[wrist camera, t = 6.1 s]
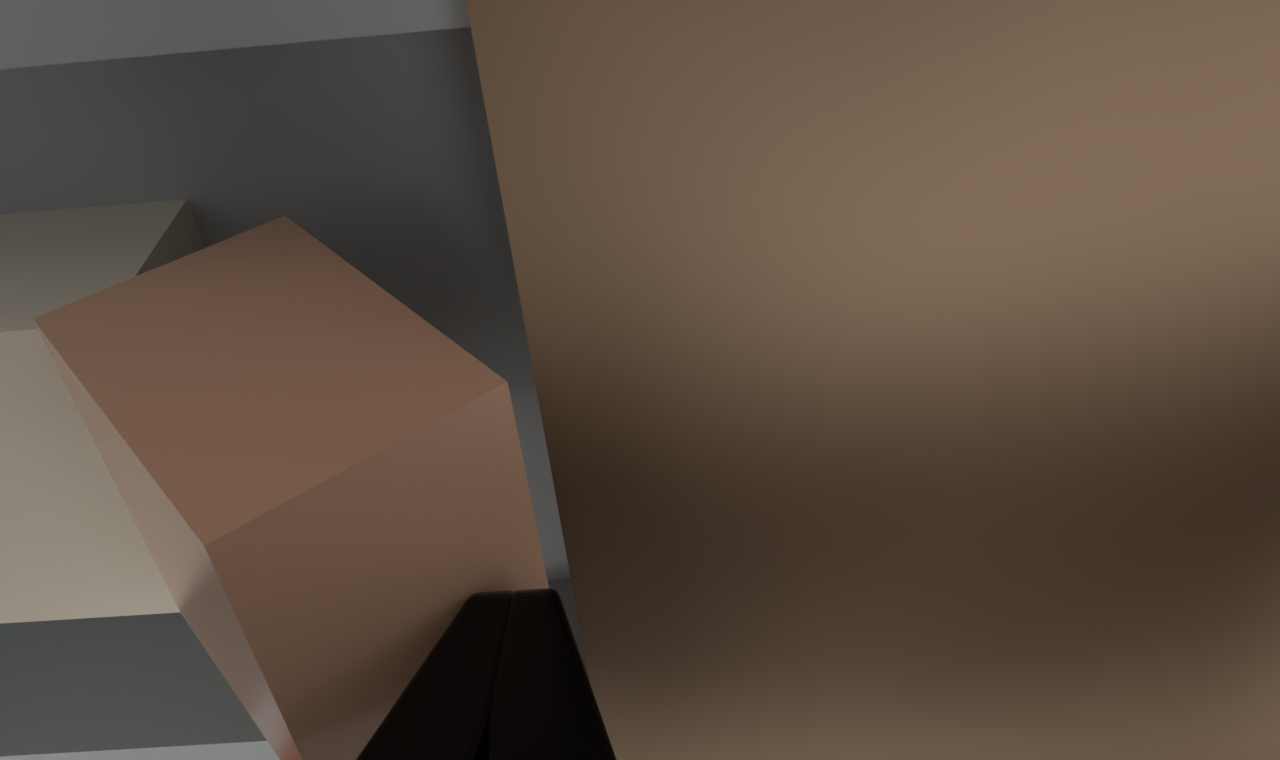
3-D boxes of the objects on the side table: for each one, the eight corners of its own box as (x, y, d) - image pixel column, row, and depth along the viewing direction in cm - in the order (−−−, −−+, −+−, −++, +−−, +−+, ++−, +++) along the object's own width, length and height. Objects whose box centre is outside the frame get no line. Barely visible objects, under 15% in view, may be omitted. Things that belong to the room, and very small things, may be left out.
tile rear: (-103, 630, 13) (-5, 485, 15) (231, 609, 13) (285, 465, 15) (-304, 353, 11) (-156, 226, 13) (101, 323, 11) (186, 199, 13)
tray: (626, 595, 17) (624, 766, 15) (-63, 640, 18) (-171, 811, 15) (516, -189, 11) (482, -109, 8) (-572, -82, 11) (-901, 22, 9)
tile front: (571, 699, 11) (349, 861, 10) (375, 503, 14) (180, 612, 13) (507, 381, 9) (203, 544, 8) (284, 215, 11) (32, 319, 10)
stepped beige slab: (1222, 557, 17) (1383, 834, 13) (626, 595, 17) (624, 873, 14) (1492, -287, 10) (1958, -191, 7) (516, -189, 11) (456, -51, 7)
